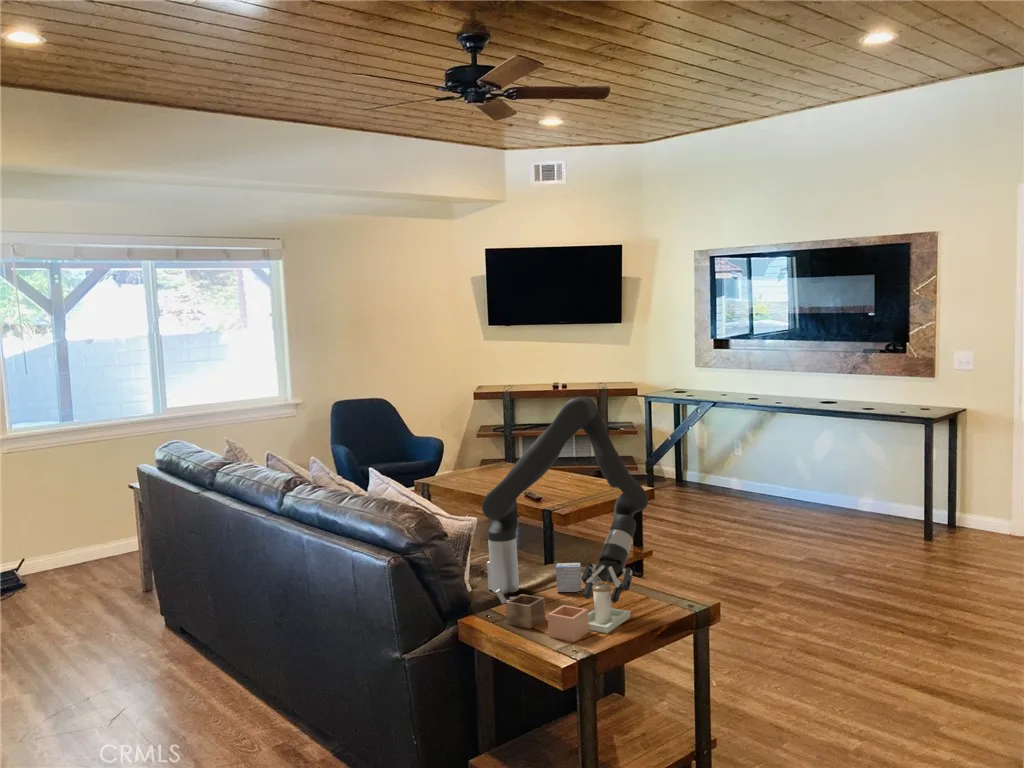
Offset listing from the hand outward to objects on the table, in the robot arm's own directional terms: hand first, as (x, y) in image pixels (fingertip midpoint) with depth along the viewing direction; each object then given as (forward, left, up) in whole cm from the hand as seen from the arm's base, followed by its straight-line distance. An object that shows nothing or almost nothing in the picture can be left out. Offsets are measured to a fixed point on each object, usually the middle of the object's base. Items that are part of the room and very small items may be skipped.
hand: (599, 599), depth 214 cm
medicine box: (-24, +23, -8) cm, 34 cm away
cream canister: (0, +1, -7) cm, 7 cm away
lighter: (-29, -4, -8) cm, 30 cm away
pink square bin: (-4, -11, -8) cm, 14 cm away
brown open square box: (-20, -8, -8) cm, 23 cm away
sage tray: (0, +1, -8) cm, 8 cm away
